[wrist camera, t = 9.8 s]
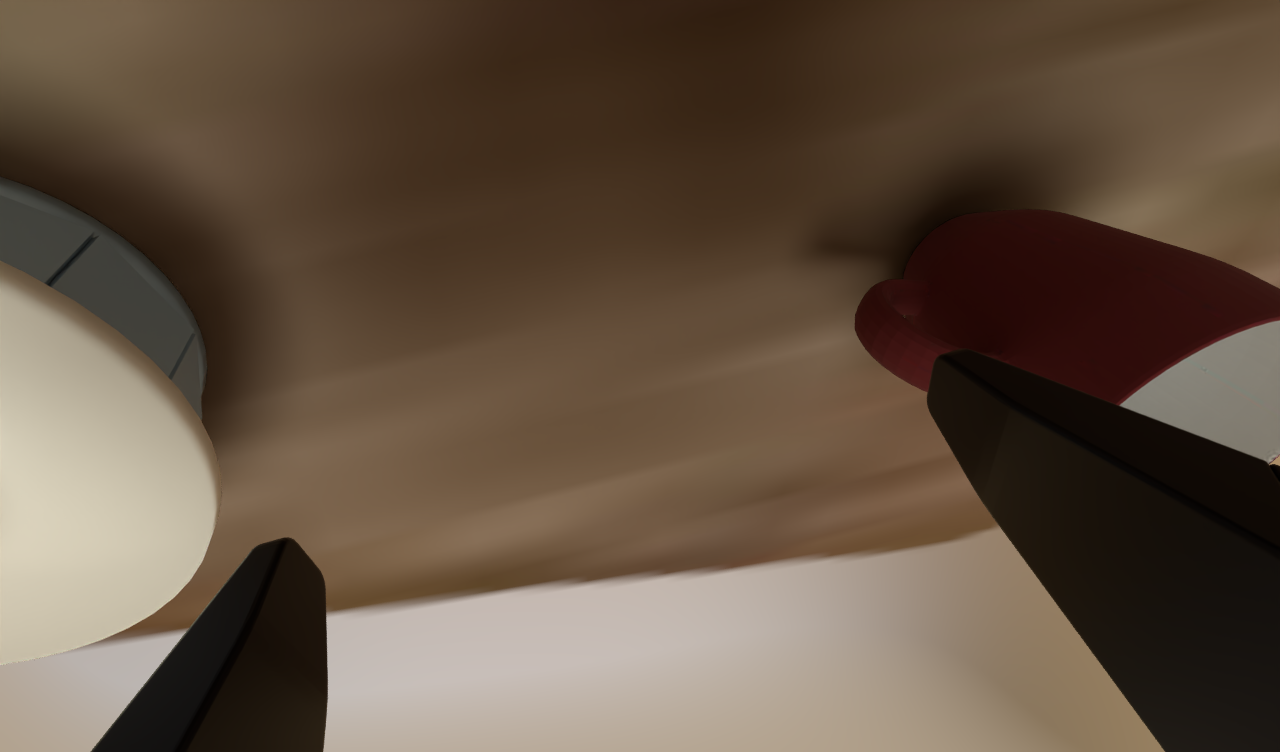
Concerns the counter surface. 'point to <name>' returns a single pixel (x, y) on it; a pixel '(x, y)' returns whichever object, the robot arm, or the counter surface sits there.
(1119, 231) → the mug
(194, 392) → the bowl
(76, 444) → the lid
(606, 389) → the counter surface
